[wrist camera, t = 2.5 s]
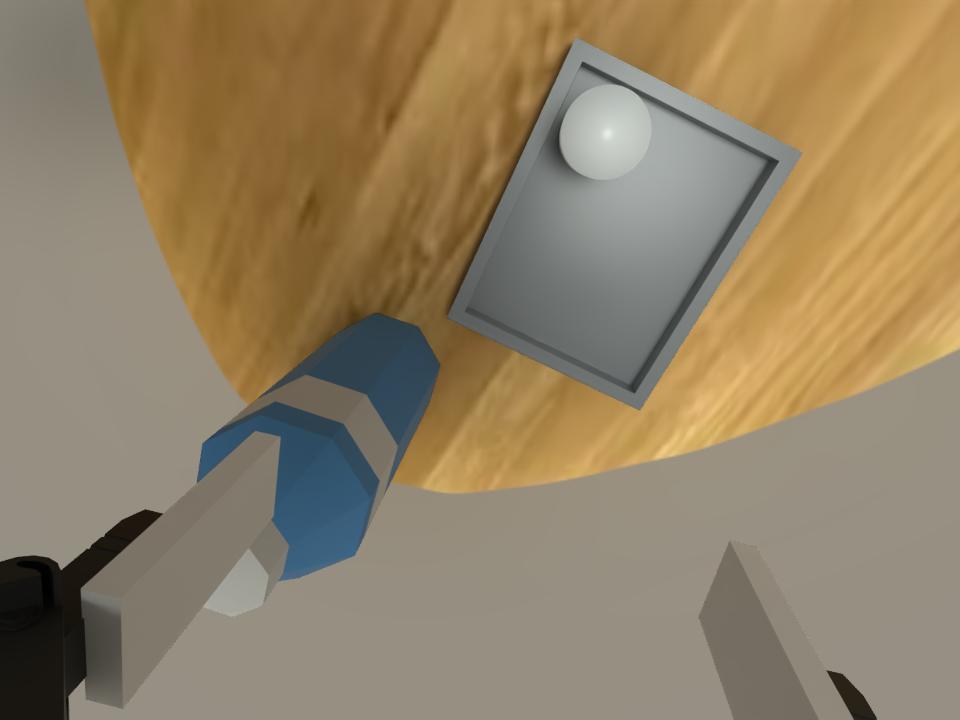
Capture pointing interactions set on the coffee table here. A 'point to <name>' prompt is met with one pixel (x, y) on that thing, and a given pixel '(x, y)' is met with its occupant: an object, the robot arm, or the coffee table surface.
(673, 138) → the tray
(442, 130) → the coffee table surface
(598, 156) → the white rounded column
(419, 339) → the water bottle
